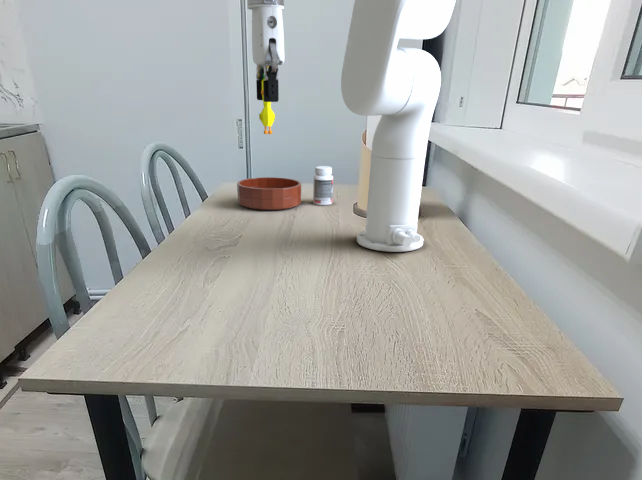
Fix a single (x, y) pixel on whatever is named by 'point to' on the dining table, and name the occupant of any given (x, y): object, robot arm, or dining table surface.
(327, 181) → the pill bottle
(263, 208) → the bowl
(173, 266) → the dining table surface
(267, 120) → the toy figure
